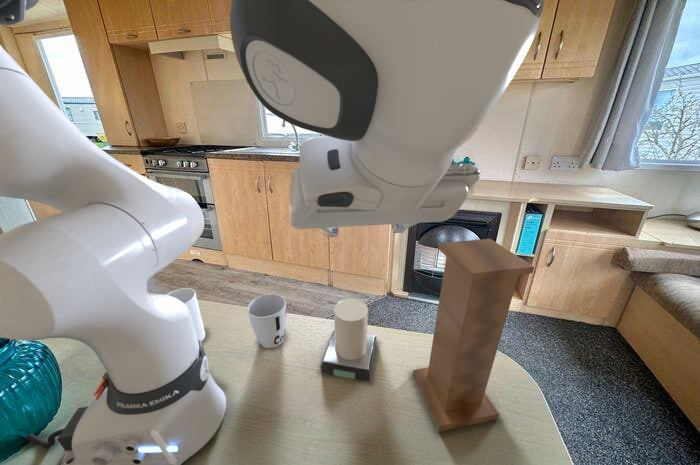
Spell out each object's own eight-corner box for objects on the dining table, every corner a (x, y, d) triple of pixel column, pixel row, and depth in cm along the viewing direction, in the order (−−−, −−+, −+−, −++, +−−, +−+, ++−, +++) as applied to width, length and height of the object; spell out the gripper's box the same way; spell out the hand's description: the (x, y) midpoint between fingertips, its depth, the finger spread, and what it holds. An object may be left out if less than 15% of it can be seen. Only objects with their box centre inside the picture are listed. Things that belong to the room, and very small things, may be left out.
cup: (280, 356, 60) (275, 320, 56) (246, 350, 61) (239, 314, 57) (294, 329, 67) (291, 296, 63) (264, 325, 69) (258, 291, 65)
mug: (185, 328, 68) (172, 287, 63) (211, 329, 67) (201, 288, 63) (157, 362, 58) (139, 317, 54) (188, 363, 58) (173, 319, 53)
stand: (438, 432, 46) (469, 278, 34) (412, 375, 56) (429, 240, 44) (497, 419, 48) (547, 270, 36) (462, 366, 58) (492, 235, 46)
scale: (320, 374, 56) (319, 364, 55) (334, 336, 65) (333, 327, 64) (369, 383, 54) (369, 373, 53) (376, 343, 63) (376, 334, 62)
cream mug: (337, 362, 55) (336, 323, 51) (331, 329, 64) (330, 293, 60) (370, 357, 56) (372, 318, 52) (360, 325, 65) (361, 289, 61)
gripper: (478, 142, 30) (427, 207, 42) (284, 141, 26) (290, 213, 38) (499, 191, 27) (438, 246, 39) (286, 198, 23) (292, 256, 36)
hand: (364, 230), depth 39 cm, fingers open, 8 cm apart
